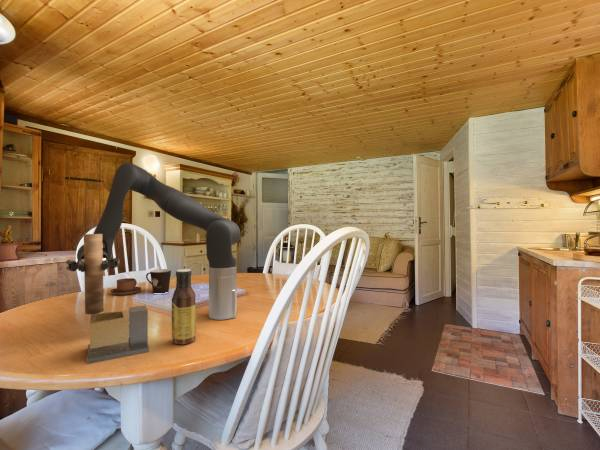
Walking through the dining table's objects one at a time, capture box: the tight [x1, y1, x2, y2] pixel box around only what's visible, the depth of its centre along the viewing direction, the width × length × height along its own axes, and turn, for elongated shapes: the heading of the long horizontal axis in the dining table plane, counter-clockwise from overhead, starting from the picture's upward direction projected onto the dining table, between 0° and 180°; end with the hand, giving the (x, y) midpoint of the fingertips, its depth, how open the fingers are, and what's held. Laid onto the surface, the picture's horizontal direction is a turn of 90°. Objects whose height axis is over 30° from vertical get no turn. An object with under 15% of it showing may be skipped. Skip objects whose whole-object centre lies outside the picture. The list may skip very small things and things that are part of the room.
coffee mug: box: [145, 268, 172, 294], centre depth 143 cm, size 12×9×10 cm
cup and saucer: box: [110, 277, 142, 296], centre depth 141 cm, size 12×12×6 cm
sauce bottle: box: [171, 268, 197, 345], centre depth 87 cm, size 7×6×20 cm
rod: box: [83, 233, 105, 315], centre depth 89 cm, size 4×4×22 cm
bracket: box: [86, 304, 150, 364], centre depth 81 cm, size 10×13×10 cm
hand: (93, 267), depth 87 cm, fingers closed on rod, 4 cm apart
